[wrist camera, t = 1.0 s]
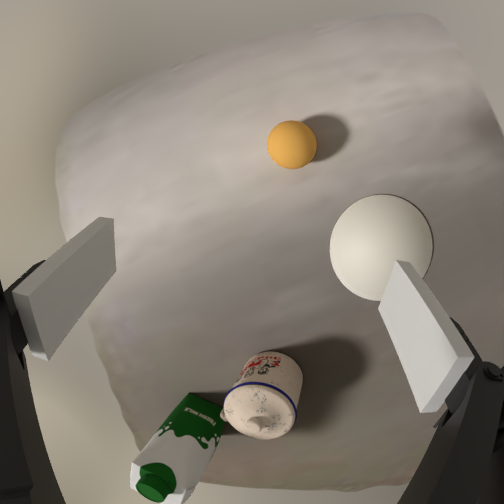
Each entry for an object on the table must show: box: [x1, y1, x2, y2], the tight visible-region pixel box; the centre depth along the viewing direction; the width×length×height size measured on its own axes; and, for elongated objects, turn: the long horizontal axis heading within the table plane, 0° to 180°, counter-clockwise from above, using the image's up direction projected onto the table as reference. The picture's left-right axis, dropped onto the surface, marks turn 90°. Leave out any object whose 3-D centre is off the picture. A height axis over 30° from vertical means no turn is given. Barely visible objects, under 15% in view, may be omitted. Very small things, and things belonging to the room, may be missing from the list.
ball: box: [267, 121, 317, 169], centre depth 35 cm, size 6×6×6 cm
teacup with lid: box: [220, 352, 303, 439], centre depth 39 cm, size 12×9×12 cm
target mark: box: [330, 195, 433, 301], centre depth 37 cm, size 13×13×1 cm
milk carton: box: [130, 393, 225, 504], centre depth 40 cm, size 9×9×20 cm
